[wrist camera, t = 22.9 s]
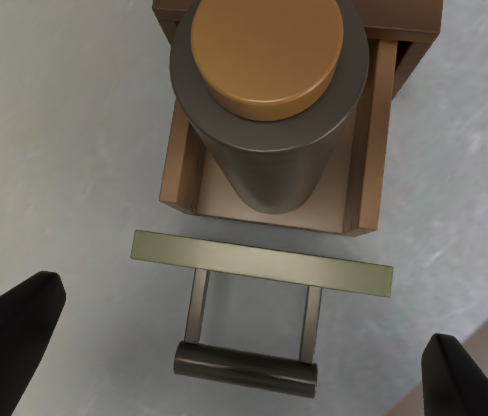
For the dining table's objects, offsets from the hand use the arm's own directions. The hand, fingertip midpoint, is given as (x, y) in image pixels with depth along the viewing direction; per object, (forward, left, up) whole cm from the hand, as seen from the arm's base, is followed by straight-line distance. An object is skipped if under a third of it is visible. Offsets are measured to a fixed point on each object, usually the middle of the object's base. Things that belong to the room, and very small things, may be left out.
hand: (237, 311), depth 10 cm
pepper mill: (+5, -2, -10) cm, 12 cm away
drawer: (+4, -1, -12) cm, 12 cm away
